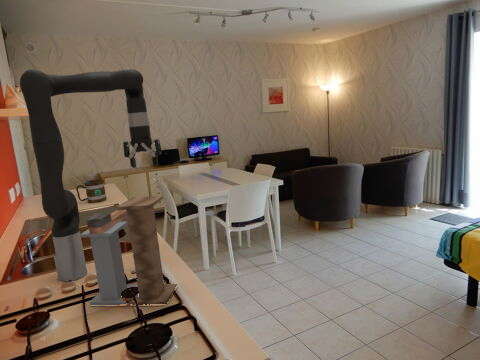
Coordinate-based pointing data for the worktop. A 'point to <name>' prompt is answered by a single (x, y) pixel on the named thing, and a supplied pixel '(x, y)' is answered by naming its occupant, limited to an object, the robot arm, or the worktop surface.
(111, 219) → the grey and brown bar
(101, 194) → the mug
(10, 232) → the worktop surface
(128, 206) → the cat scratching post
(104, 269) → the blue-grey pedestal
